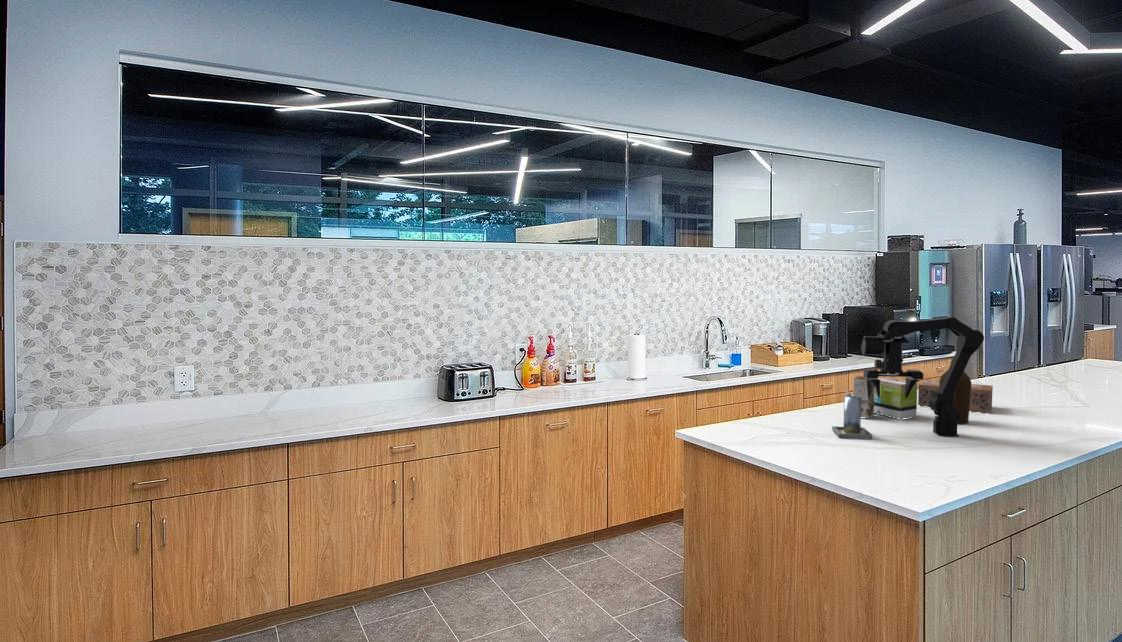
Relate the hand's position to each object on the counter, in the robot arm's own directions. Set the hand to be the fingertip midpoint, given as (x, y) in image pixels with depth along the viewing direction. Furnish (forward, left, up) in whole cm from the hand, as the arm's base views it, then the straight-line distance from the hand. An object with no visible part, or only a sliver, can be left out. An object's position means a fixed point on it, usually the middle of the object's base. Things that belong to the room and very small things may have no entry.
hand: (892, 397), depth 224 cm
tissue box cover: (-40, -51, -14) cm, 66 cm away
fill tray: (+15, +6, -13) cm, 21 cm away
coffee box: (+3, -26, -13) cm, 29 cm away
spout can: (+15, +6, -12) cm, 20 cm away
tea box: (-9, -30, -13) cm, 34 cm away
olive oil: (-29, -22, -13) cm, 39 cm away
